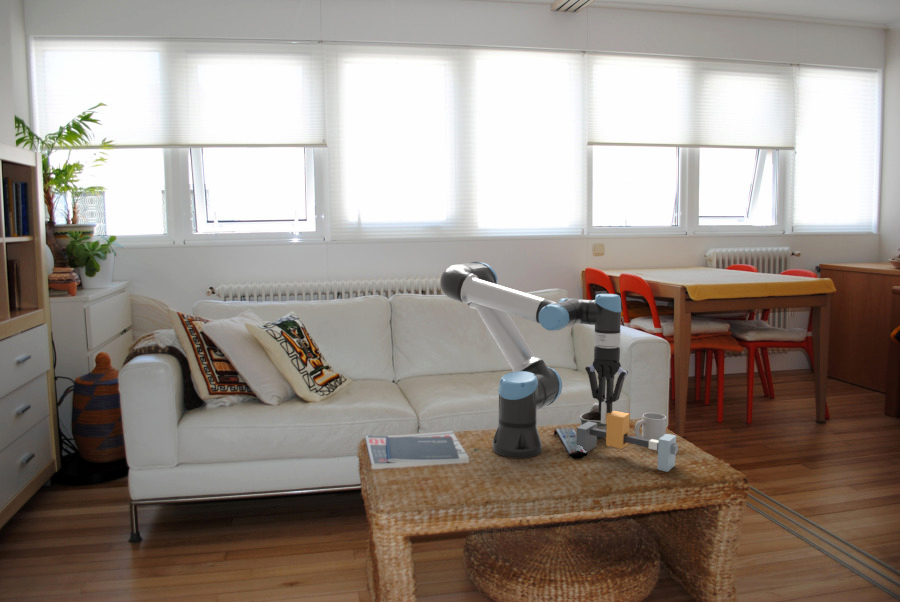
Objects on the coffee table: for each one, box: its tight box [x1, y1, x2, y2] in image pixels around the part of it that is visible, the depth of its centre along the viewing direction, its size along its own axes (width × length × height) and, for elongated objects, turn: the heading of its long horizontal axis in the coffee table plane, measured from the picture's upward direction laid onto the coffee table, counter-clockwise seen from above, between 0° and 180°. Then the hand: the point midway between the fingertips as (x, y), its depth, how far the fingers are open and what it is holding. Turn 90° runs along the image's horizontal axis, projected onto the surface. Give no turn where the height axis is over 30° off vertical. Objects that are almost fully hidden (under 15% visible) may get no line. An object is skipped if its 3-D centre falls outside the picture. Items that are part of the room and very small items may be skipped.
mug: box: [579, 402, 607, 440], centre depth 217 cm, size 10×12×10 cm
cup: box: [634, 412, 667, 440], centre depth 210 cm, size 7×10×9 cm
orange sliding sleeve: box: [605, 410, 631, 450], centre depth 198 cm, size 5×5×10 cm
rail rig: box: [575, 421, 679, 473], centre depth 197 cm, size 29×8×9 cm, turn 53°
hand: (605, 422), depth 201 cm, fingers closed
